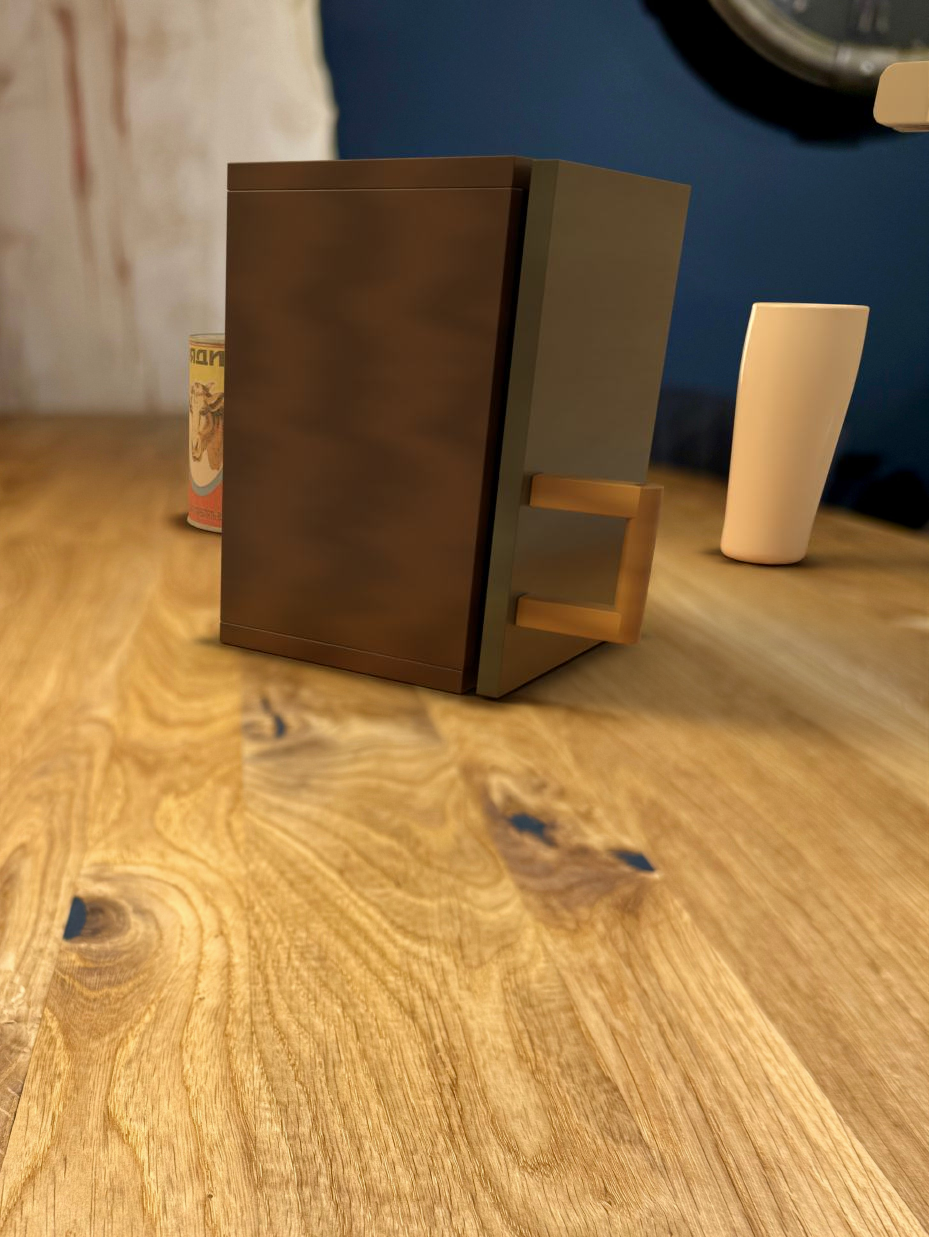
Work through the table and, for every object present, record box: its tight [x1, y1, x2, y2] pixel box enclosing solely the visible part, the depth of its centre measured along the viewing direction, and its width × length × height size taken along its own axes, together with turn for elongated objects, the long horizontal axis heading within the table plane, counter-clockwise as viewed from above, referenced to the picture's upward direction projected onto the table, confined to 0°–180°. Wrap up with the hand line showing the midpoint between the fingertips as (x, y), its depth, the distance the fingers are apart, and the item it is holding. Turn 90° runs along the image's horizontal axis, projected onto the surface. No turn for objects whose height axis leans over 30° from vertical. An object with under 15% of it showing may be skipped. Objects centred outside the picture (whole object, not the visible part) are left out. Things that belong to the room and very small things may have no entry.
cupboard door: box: [475, 158, 692, 699], centre depth 55 cm, size 6×15×20 cm, turn 145°
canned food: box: [187, 332, 225, 534], centre depth 90 cm, size 11×11×12 cm
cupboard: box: [219, 154, 539, 695], centre depth 60 cm, size 13×15×20 cm
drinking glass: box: [719, 302, 871, 565], centre depth 82 cm, size 7×7×15 cm
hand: (885, 98), depth 46 cm, fingers closed
